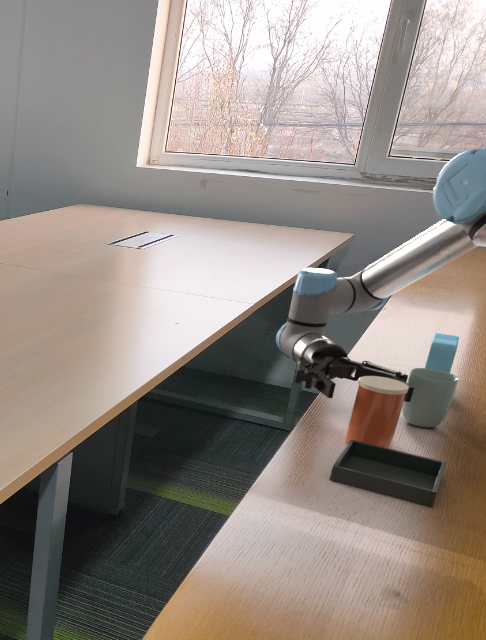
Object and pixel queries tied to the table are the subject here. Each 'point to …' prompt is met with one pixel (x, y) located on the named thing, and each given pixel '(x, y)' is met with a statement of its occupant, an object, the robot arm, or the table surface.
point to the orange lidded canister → (376, 410)
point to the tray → (389, 472)
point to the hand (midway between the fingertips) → (371, 392)
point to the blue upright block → (442, 352)
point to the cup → (429, 397)
